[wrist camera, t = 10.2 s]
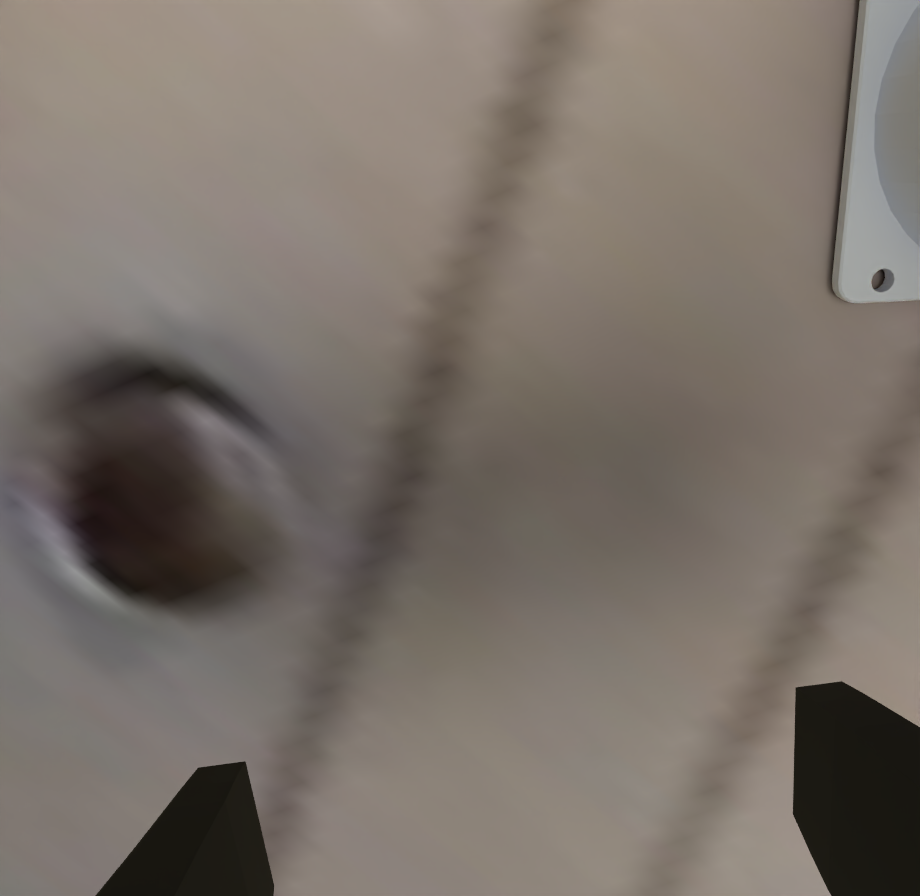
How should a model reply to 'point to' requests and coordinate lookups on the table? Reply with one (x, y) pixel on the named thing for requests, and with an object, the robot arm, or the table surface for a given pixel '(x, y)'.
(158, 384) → the table surface
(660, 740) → the table surface
